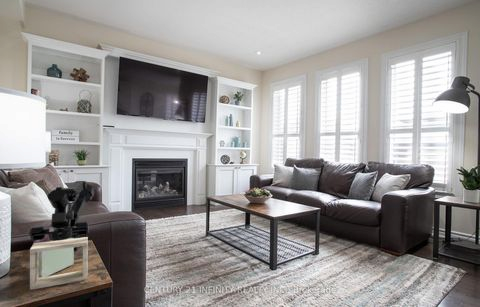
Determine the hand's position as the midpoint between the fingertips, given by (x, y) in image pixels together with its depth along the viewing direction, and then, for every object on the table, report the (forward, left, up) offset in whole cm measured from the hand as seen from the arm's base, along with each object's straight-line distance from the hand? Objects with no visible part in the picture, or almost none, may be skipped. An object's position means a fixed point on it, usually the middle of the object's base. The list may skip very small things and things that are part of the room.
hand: (58, 251), depth 99 cm
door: (+1, -1, -6) cm, 6 cm away
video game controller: (-26, -8, -7) cm, 29 cm away
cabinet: (+10, +2, -7) cm, 12 cm away
